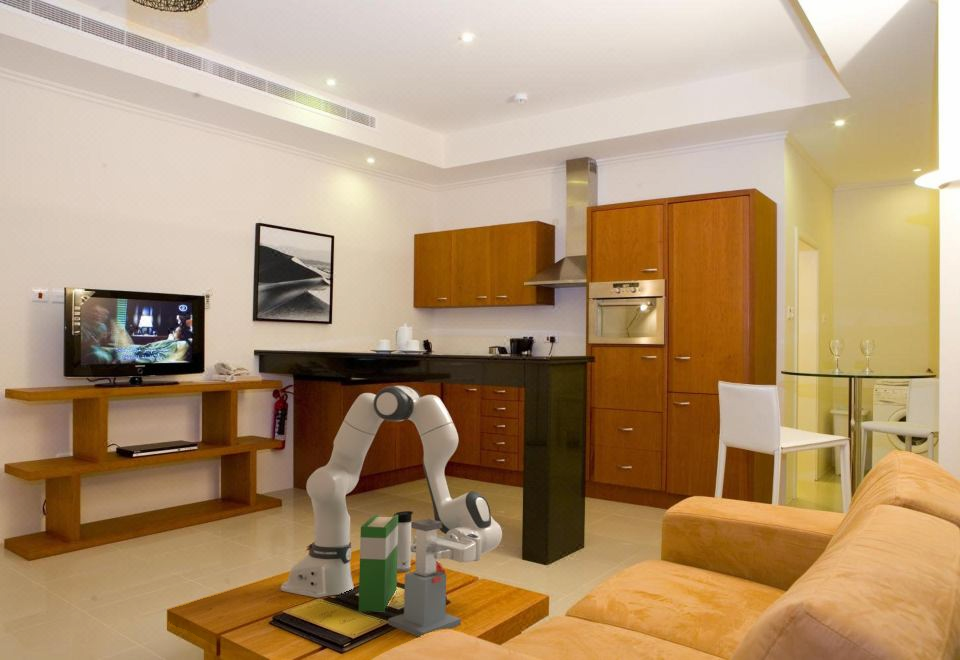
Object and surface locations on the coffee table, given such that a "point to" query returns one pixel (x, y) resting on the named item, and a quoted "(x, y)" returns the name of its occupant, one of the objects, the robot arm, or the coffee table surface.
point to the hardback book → (378, 562)
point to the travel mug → (404, 541)
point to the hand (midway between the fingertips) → (423, 552)
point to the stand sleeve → (424, 605)
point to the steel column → (426, 546)
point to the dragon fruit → (439, 568)
